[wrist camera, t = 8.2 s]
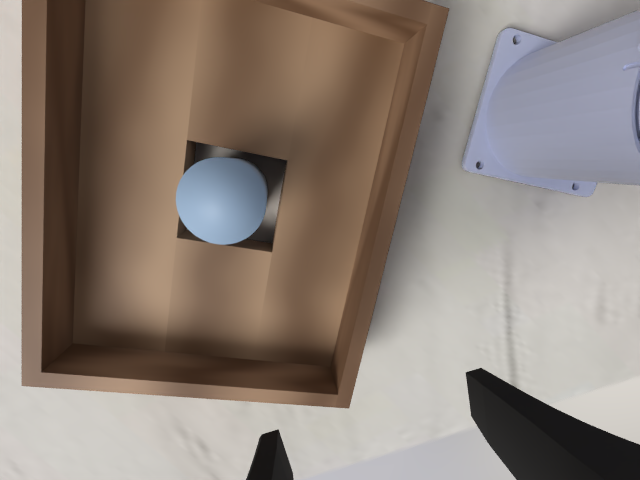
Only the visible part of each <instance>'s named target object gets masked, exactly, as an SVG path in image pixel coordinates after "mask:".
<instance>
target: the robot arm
mask: <svg viewBox="0 0 640 480" xmlns="http://www.w3.org/2000/svg"><path fill="white" fill-rule="evenodd" d="M513 37H514V38H515V39H516V44H514V43H513ZM478 161H479V162H480V166H479V168H478V169H477V168H476V163H477V162H478ZM462 168H463V169H464V170H465V171H467V172H472V173H476V174H481V175H485V176H490V177H495V178H499V179H504V180H508V181H513V182H517V183H522V184H527V185H531V186H536V187H540V188H545V189H550V190H554V191H559V192H563V193H568V194H572V195H577V196H582V197H588V196H590V195H591V194H593V192H594V190H595V187H596V185H597V182H601V183H614V184H627V185H640V9H639V10H637V11H634V12H632V13H629V14H627V15H625V16H622V17H620V18H617V19H615V20H612V21H610V22H607V23H605V24H602V25H600V26H597V27H595V28H592V29H590V30H587V31H585V32H583V33H580V34H578V35H575V36H573V37H570V38H568V39H565V40H563V41H560V42H555V41H552V40H548V39H545V38H542V37H539V36H536V35H533V34H529V33H526V32H523V31H520V30H517V29H514V28H506V29H504V30H502V31H501V32H500V33H499V35H498V37H497V40H496V44H495V47H494V51H493V54H492V58H491V61H490V65H489V68H488V72H487V75H486V79H485V82H484V86H483V89H482V93H481V96H480V100H479V104H478V107H477V111H476V114H475V118H474V121H473V125H472V128H471V132H470V135H469V139H468V142H467V146H466V149H465V153H464V156H463V160H462ZM573 184H574V187H573V189H572V185H573ZM466 378H467V386H468V394H469V401H470V409H471V416H472V418H473V420H474V421H475V423H476V424H477V426H478V428H479V429H480V431H481V432H482V434H483V436H484V437H485V439H486V440H487V442H488V443H489V445H490V446H491V447H492V449H493V450H494V451H495V453H496V454H497V455H498V456H499V458H500V459H501V460H502V462H503V463H504V464H505V465H506V467H507V468H508V469H509V471H510V472H511V473H512V474H513V476H514V477H515V478H516V479H517V480H640V445H639V444H636V443H634V442H631V441H628V440H626V439H623V438H621V437H618V436H615V435H613V434H610V433H608V432H606V431H603V430H601V429H598V428H596V427H594V426H591V425H589V424H587V423H585V422H582V421H580V420H578V419H576V418H574V417H572V416H570V415H568V414H565V413H563V412H561V411H559V410H557V409H555V408H553V407H551V406H549V405H547V404H545V403H543V402H541V401H539V400H538V399H536V398H534V397H532V396H530V395H528V394H526V393H525V392H523V391H521V390H519V389H517V388H516V387H514V386H512V385H510V384H508V383H507V382H505V381H503V380H501V379H500V378H498V377H496V376H494V375H493V374H491V373H489V372H487V371H486V370H484V369H482V368H479V369H476V370H472V371H469V372H466ZM246 480H293V472H292V469H291V466H290V463H289V460H288V457H287V454H286V451H285V448H284V445H283V442H282V439H281V436H280V433H279V430H275V431H272V432H269V433H265V434H262V435H261V437H260V438H259V442H258V445H257V449H256V452H255V455H254V458H253V461H252V464H251V467H250V470H249V473H248V476H247V479H246Z"/></svg>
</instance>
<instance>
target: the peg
mask: <svg viewBox="0 0 640 480" xmlns="http://www.w3.org/2000/svg"><path fill="white" fill-rule="evenodd" d="M267 194H268V187H267V182H266V179H265V176H264V175H263V173H262V172H261V170H260V169H259V168H258V167H257V166H256V165H255V164H253V163H251V162H250V161H247V160H245V159H240V158H225V157H214V158H208V159H205V160H202V161H199V162H198V163H196V164H194V165H193V166H191V167H190V168H189V169H188V170H187V171H186V172H185V173H184V175H183V176H182V178H181V180H180V182H179V184H178V187H177V191H176V206H177V210H178V213H179V216H180V218H181V220H182V222H183V223H184V225H185V226H186V227H187V228H188V230H189V231H190V232H192V233H193V234H194V235H195V236H197V237H198V238H200V239H202V240H204V241H207V242H209V243H213V244H220V245H226V244H233V243H237V242H240V241H242V240H244V239H246V238H248V237H249V236H250V235H252V234H253V233H254V232H255V231H256V230H257V228H258V227H259V226H260V224H261V222H262V220H263V218H264V215H265V211H266V203H267Z"/></svg>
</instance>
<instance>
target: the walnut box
mask: <svg viewBox="0 0 640 480" xmlns="http://www.w3.org/2000/svg"><path fill="white" fill-rule="evenodd" d="M448 12H449V8H446V7H442V6H439V5H436V4H433V3H430V2H427V1H423V0H22V386H30V387H45V388H59V389H74V390H89V391H103V392H118V393H133V394H147V395H162V396H176V397H191V398H206V399H220V400H235V401H249V402H264V403H279V404H293V405H308V406H323V407H337V408H349V406H350V402H351V398H352V394H353V390H354V386H355V382H356V378H357V374H358V370H359V366H360V362H361V358H362V354H363V350H364V346H365V343H366V339H367V335H368V331H369V327H370V323H371V319H372V315H373V311H374V307H375V303H376V299H377V295H378V291H379V287H380V283H381V279H382V275H383V271H384V267H385V263H386V259H387V255H388V251H389V247H390V243H391V239H392V235H393V231H394V227H395V223H396V219H397V215H398V211H399V207H400V203H401V199H402V195H403V191H404V187H405V183H406V179H407V175H408V171H409V167H410V163H411V159H412V155H413V151H414V147H415V143H416V139H417V135H418V131H419V127H420V123H421V119H422V115H423V111H424V107H425V103H426V99H427V95H428V91H429V87H430V84H431V80H432V76H433V72H434V68H435V64H436V60H437V56H438V52H439V48H440V44H441V40H442V36H443V32H444V28H445V24H446V20H447V16H448ZM196 142H199V143H204V144H209V145H214V146H219V147H224V148H229V149H234V150H239V151H244V152H249V153H253V154H258V155H263V156H268V157H273V158H278V159H283V160H286V166H285V172H284V178H283V183H282V189H281V195H280V201H279V207H278V213H277V219H276V224H275V230H274V236H273V242H272V243H267V242H261V241H255V240H248V239H244V240H242V241H240V242H237V243H233V244H226V245H220V244H213V243H209V242H207V241H204V240H202V239H200V238H198V237H197V236H195V235H194V234H193V233H192V232H190V231H189V230H186V229H187V227H186V226H185V225H184V223H183V222H182V220H181V218H180V216H179V213H178V210H177V206H176V191H177V187H178V184H179V182H180V180H181V178H182V176H183V175H184V173H185V172H186V171H187V170H188V169H189V168H190V167H191V166H193V165H194V157H195V148H196Z"/></svg>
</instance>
